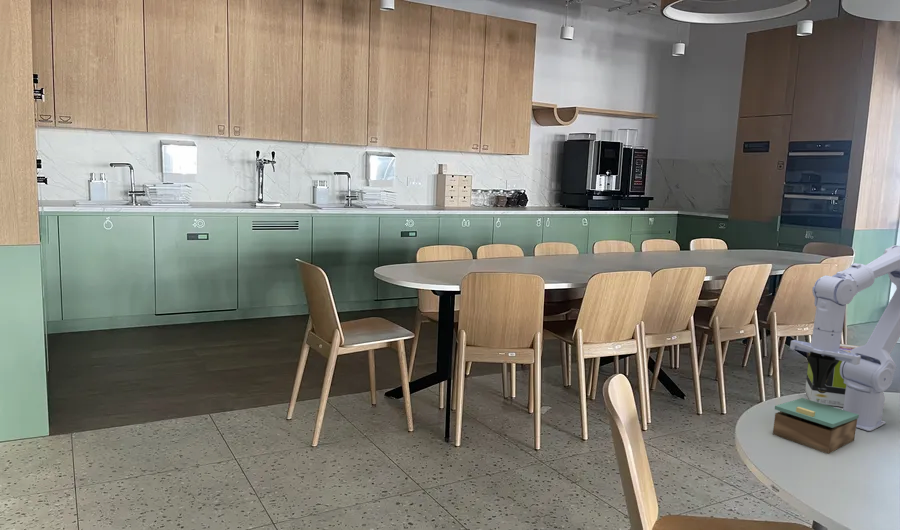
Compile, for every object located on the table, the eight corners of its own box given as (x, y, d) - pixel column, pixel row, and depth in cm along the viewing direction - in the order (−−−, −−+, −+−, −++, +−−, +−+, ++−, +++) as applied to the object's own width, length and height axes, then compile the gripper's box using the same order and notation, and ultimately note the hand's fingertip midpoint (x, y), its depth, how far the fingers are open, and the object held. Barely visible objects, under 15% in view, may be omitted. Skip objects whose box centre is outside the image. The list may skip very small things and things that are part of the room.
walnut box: (799, 422, 162) (802, 402, 161) (854, 440, 152) (857, 419, 152) (772, 434, 154) (775, 413, 153) (828, 453, 144) (831, 431, 144)
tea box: (866, 400, 180) (875, 346, 178) (875, 413, 171) (884, 356, 168) (803, 391, 185) (810, 338, 183) (808, 403, 176) (816, 348, 173)
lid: (802, 401, 161) (803, 393, 161) (859, 418, 152) (860, 410, 151) (774, 409, 153) (775, 401, 153) (832, 428, 143) (833, 419, 143)
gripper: (787, 323, 157) (779, 380, 159) (854, 338, 146) (845, 399, 148) (801, 320, 161) (793, 375, 163) (868, 335, 150) (858, 394, 152)
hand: (819, 386), depth 156 cm, fingers closed
